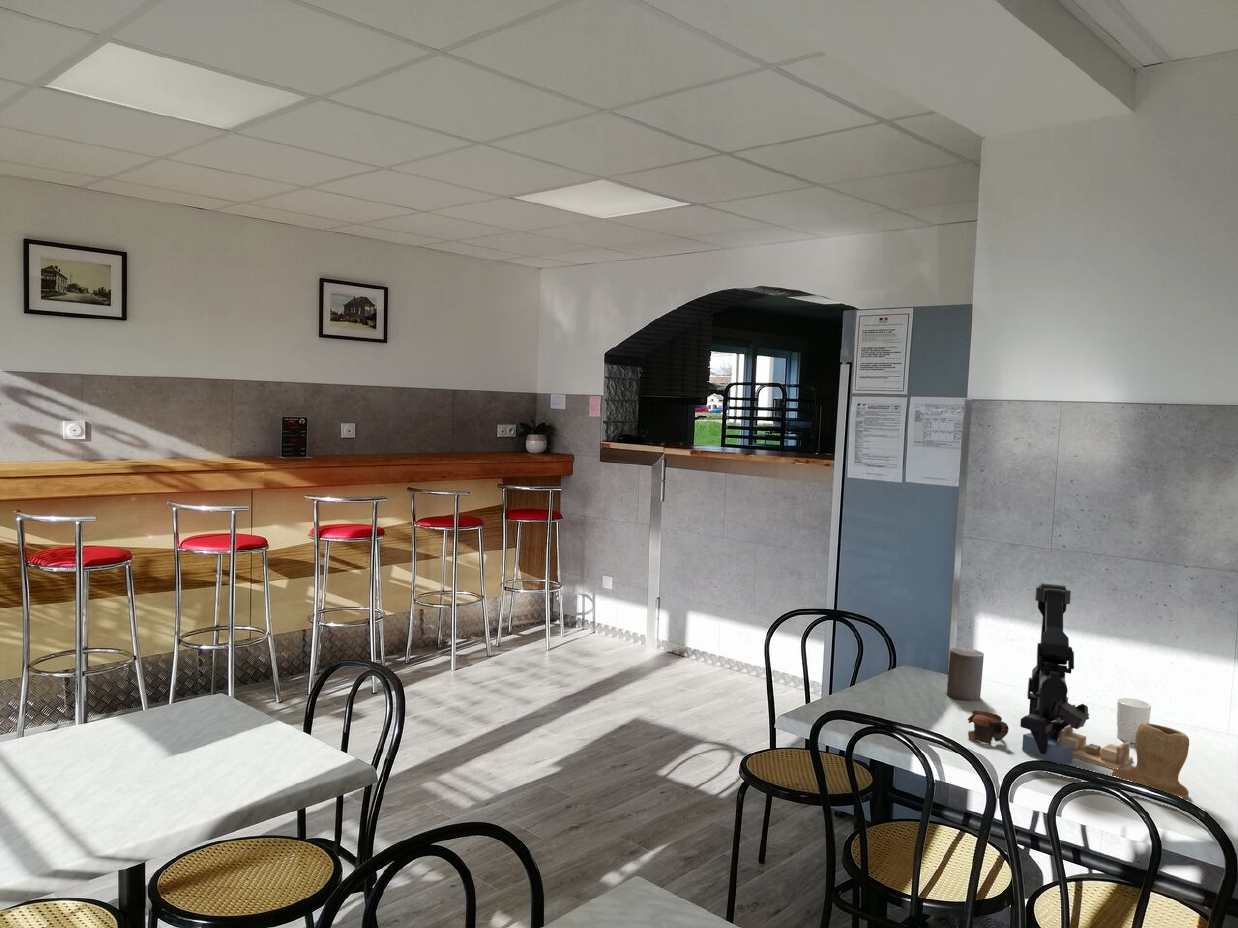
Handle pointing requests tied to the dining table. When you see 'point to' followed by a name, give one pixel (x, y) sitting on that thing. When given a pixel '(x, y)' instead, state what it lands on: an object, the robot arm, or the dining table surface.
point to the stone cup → (1158, 759)
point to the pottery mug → (987, 727)
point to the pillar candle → (965, 674)
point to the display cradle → (1096, 750)
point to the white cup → (1131, 717)
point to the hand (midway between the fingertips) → (1047, 751)
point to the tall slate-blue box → (1049, 750)
